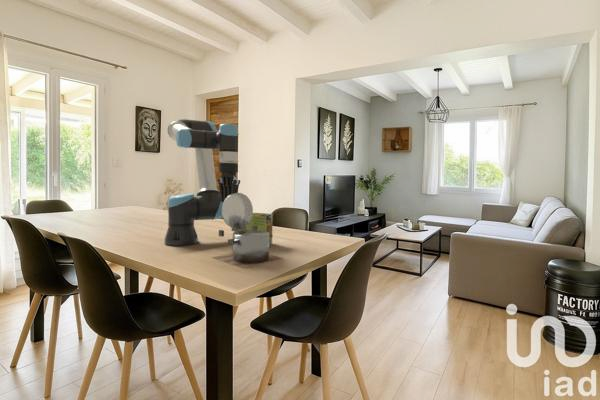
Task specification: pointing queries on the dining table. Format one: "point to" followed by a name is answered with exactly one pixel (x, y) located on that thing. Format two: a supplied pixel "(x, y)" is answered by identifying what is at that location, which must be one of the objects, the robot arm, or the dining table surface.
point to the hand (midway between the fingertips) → (228, 219)
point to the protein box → (261, 223)
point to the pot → (250, 245)
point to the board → (229, 259)
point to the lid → (237, 211)
